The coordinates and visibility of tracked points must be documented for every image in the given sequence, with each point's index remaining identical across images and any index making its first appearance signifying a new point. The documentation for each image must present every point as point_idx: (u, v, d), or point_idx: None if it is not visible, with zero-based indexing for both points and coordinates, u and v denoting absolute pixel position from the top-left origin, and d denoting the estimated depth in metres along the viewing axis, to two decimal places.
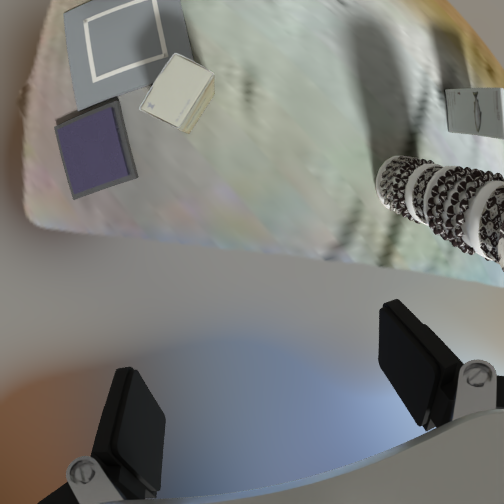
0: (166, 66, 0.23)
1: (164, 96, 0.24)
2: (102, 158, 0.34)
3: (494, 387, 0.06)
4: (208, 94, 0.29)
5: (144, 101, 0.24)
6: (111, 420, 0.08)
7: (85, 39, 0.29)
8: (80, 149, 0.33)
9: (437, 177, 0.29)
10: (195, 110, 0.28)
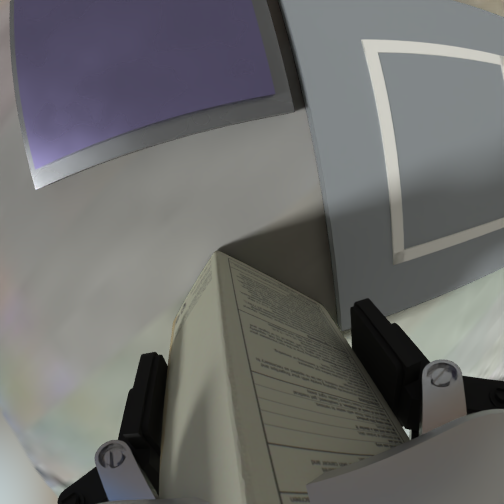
0: None
1: None
2: (89, 70, 0.08)
3: (461, 385, 0.06)
4: None
5: None
6: (140, 403, 0.08)
7: (470, 49, 0.10)
8: None
9: None
10: None
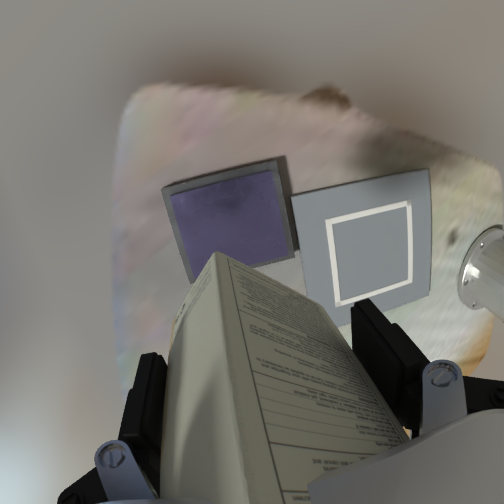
0: None
1: None
2: (219, 244, 0.28)
3: (461, 385, 0.06)
4: None
5: None
6: (140, 403, 0.08)
7: (385, 205, 0.30)
8: (235, 210, 0.27)
9: None
10: None
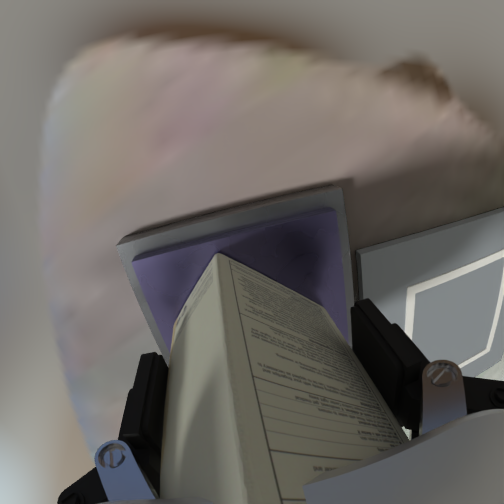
0: None
1: None
2: None
3: (461, 385, 0.06)
4: None
5: None
6: (140, 403, 0.08)
7: (484, 257, 0.17)
8: None
9: None
10: None
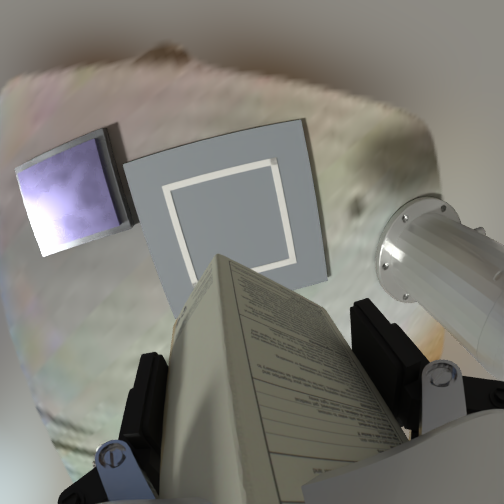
0: None
1: None
2: (56, 216, 0.24)
3: (461, 385, 0.06)
4: None
5: None
6: (140, 403, 0.08)
7: (238, 165, 0.26)
8: (66, 181, 0.23)
9: None
10: None
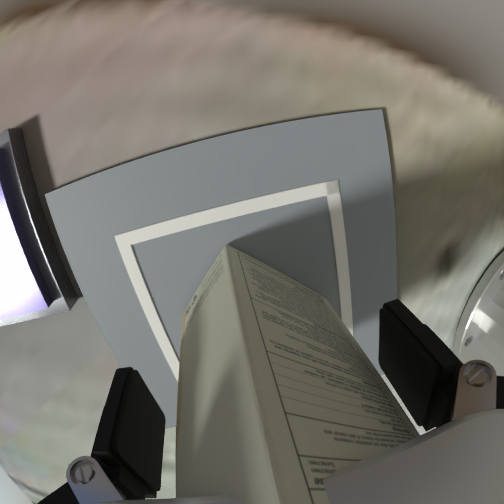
0: None
1: None
2: None
3: (494, 387, 0.06)
4: None
5: None
6: (111, 420, 0.08)
7: (265, 195, 0.13)
8: None
9: None
10: None
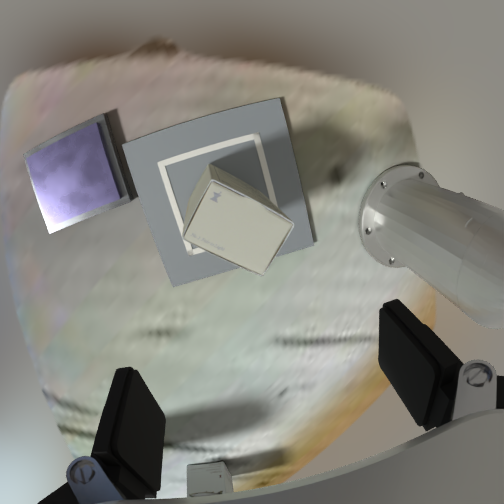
0: (274, 213, 0.20)
1: (229, 214, 0.19)
2: (62, 194, 0.27)
3: (494, 387, 0.06)
4: None
5: (222, 186, 0.18)
6: (111, 420, 0.08)
7: (225, 140, 0.29)
8: (71, 162, 0.26)
9: None
10: None
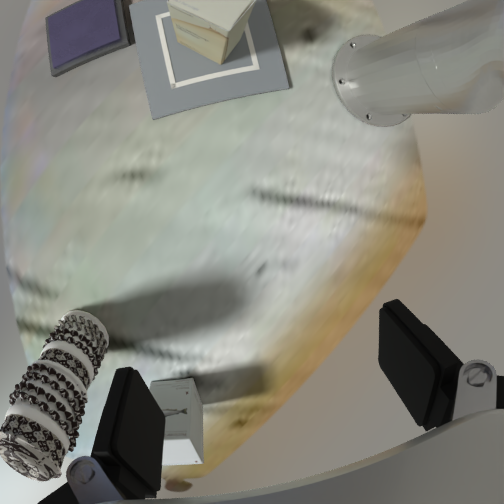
0: None
1: None
2: (71, 39, 0.25)
3: (494, 387, 0.06)
4: (212, 44, 0.24)
5: None
6: (111, 420, 0.08)
7: None
8: (85, 15, 0.24)
9: (66, 373, 0.29)
10: (191, 26, 0.22)
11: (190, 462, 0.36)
